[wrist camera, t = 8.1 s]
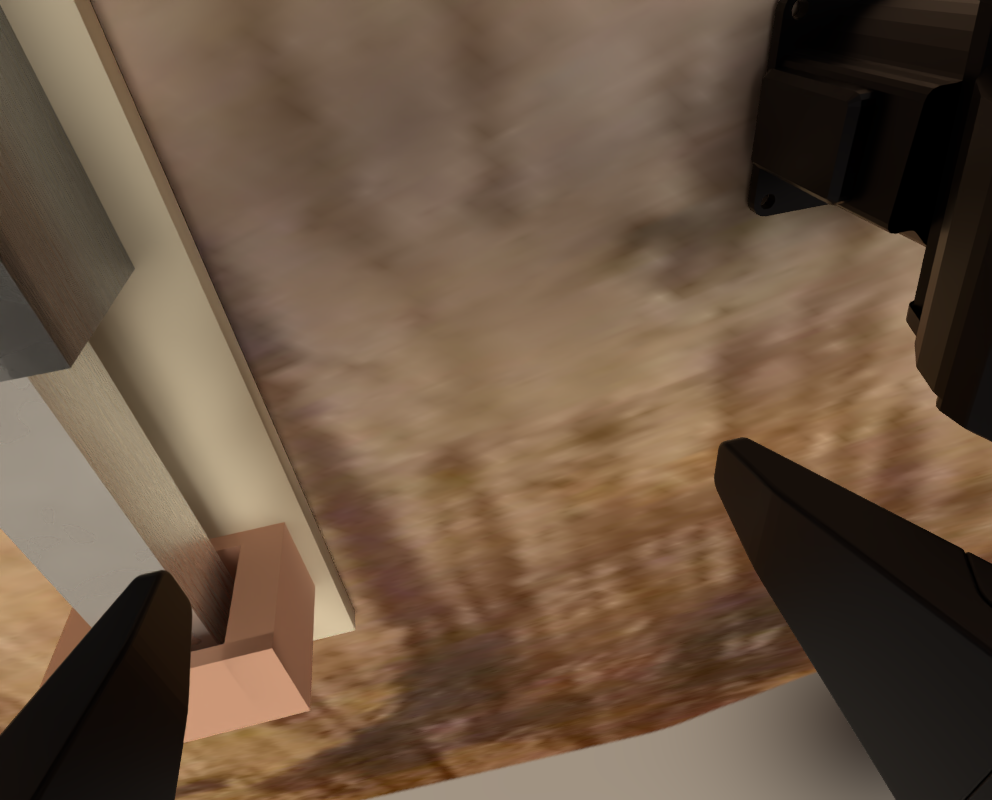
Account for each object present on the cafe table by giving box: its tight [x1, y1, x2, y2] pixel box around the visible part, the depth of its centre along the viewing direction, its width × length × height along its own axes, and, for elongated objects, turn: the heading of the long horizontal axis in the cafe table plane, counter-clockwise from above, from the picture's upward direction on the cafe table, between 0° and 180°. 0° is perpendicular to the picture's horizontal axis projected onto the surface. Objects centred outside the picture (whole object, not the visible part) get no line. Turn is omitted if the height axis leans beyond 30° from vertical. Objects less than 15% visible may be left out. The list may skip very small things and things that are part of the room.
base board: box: [0, 0, 355, 641], centre depth 20 cm, size 9×28×1 cm, turn 6°
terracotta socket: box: [39, 522, 315, 743], centre depth 23 cm, size 7×4×6 cm, turn 96°
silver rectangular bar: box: [0, 341, 235, 652], centre depth 18 cm, size 3×17×3 cm, turn 6°
